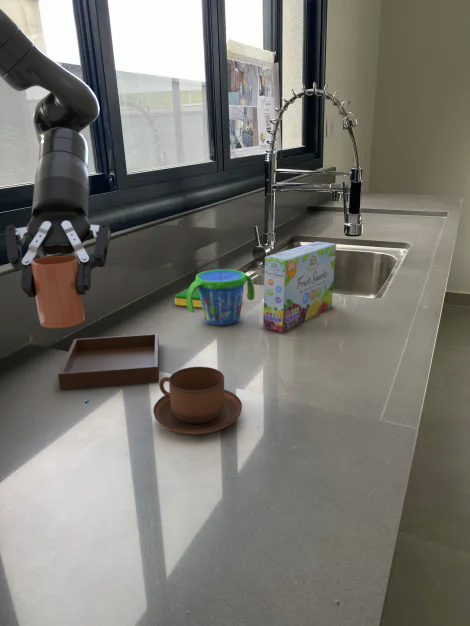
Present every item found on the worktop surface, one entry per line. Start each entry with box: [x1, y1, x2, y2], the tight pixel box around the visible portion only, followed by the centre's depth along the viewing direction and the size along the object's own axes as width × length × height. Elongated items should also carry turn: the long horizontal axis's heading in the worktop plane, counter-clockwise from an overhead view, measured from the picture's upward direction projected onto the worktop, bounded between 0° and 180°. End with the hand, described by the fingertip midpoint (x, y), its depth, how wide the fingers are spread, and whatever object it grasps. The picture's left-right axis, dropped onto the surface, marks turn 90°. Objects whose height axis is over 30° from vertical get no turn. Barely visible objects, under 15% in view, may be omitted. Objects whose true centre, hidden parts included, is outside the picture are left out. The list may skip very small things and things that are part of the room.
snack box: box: [262, 241, 337, 333], centre depth 106 cm, size 21×6×15 cm, turn 143°
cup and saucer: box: [152, 366, 243, 435], centre depth 67 cm, size 12×12×6 cm
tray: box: [57, 332, 160, 391], centre depth 85 cm, size 15×15×3 cm
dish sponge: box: [174, 287, 203, 309], centre depth 118 cm, size 7×14×2 cm, turn 69°
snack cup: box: [186, 268, 256, 326], centre depth 105 cm, size 16×10×10 cm
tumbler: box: [31, 254, 86, 329], centre depth 66 cm, size 6×6×8 cm
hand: (56, 292), depth 65 cm, fingers closed on tumbler, 6 cm apart
